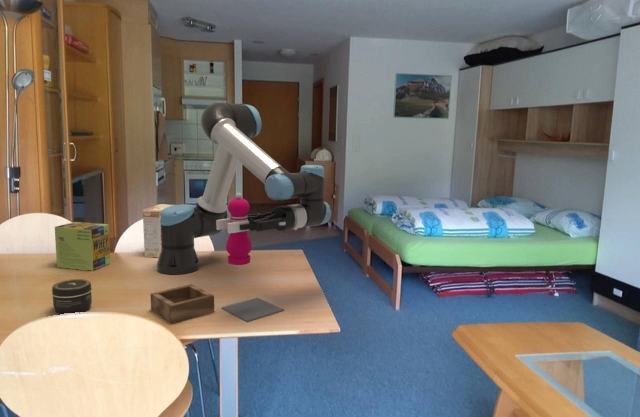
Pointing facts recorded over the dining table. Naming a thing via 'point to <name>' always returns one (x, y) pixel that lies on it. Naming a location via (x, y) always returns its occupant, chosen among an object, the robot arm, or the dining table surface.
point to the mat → (252, 309)
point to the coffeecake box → (153, 230)
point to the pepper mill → (238, 233)
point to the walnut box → (182, 303)
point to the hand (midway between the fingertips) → (222, 226)
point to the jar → (72, 296)
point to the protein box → (82, 245)
